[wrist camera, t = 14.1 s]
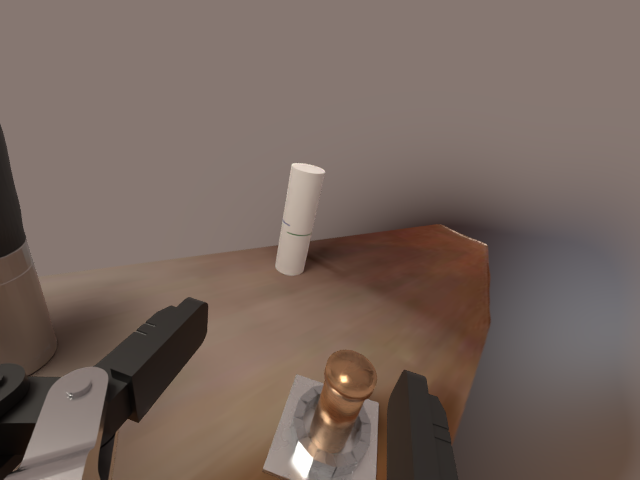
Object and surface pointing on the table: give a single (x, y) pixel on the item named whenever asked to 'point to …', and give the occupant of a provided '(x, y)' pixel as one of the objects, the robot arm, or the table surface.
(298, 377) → the duct collar
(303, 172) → the cylindrical container
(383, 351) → the table surface
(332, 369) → the copper pipe
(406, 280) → the table surface
